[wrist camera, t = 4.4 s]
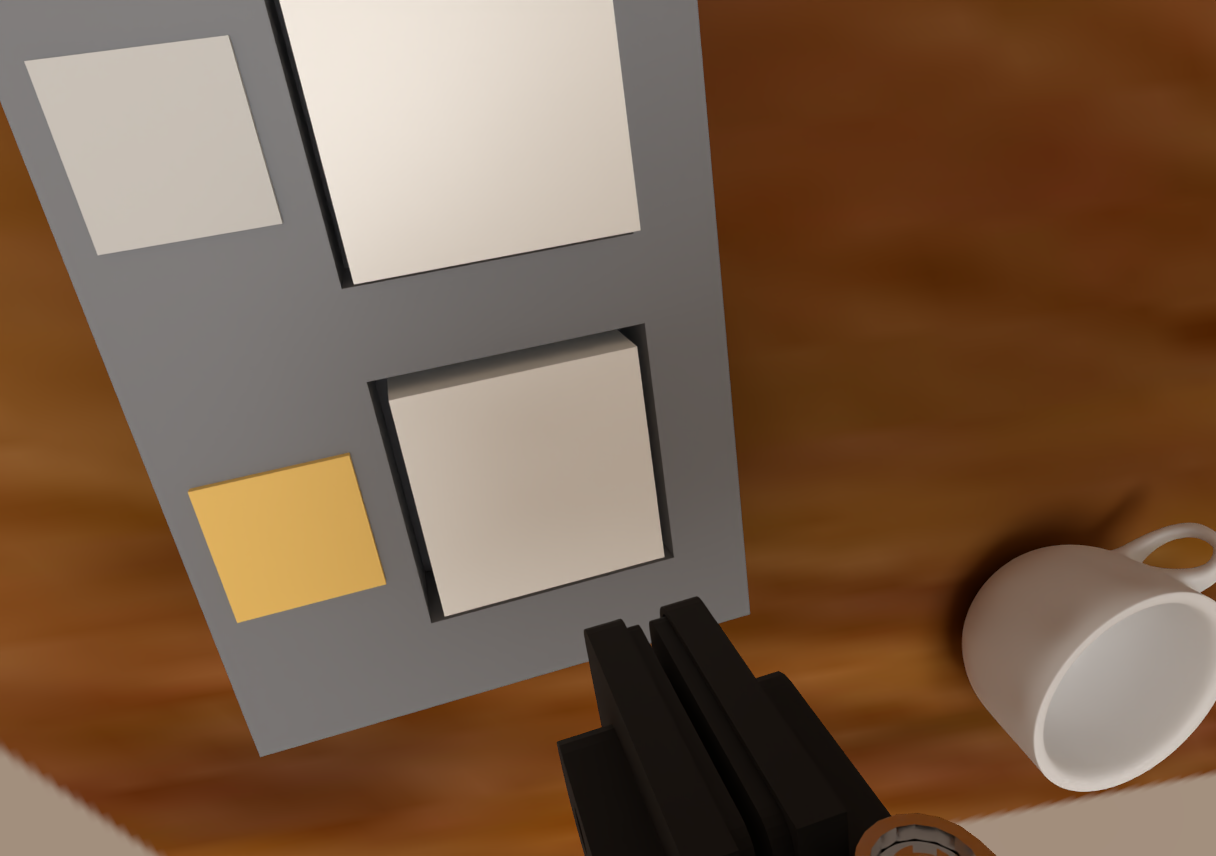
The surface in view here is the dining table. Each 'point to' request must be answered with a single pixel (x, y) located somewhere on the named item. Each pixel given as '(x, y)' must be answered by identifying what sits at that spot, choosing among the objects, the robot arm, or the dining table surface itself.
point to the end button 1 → (529, 467)
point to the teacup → (1095, 656)
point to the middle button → (465, 126)
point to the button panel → (354, 350)
